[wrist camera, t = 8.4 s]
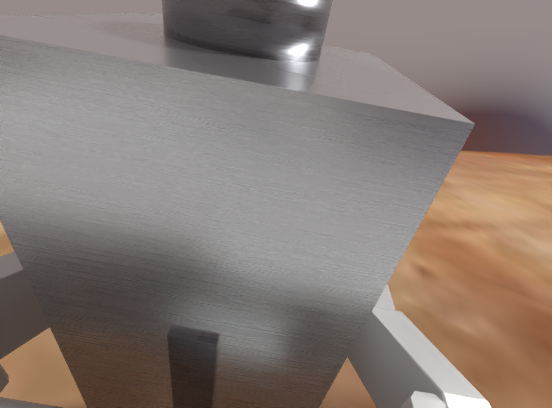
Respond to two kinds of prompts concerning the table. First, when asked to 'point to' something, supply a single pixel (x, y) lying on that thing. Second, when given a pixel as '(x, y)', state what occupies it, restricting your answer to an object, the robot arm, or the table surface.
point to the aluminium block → (210, 195)
